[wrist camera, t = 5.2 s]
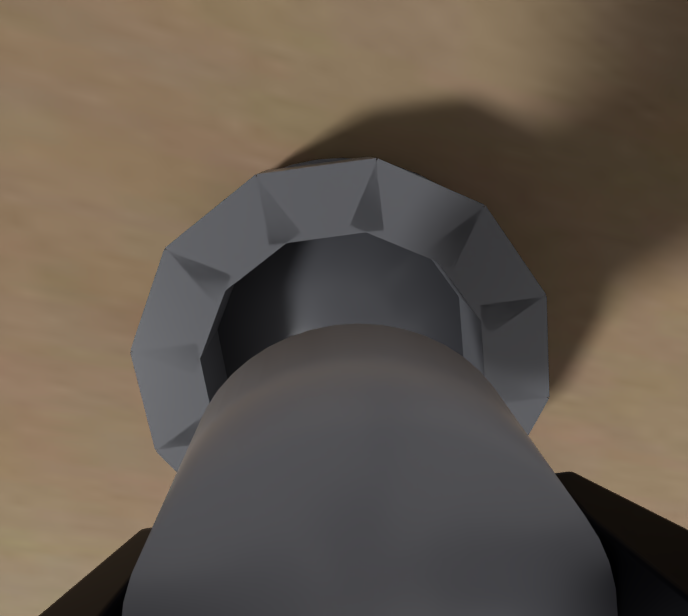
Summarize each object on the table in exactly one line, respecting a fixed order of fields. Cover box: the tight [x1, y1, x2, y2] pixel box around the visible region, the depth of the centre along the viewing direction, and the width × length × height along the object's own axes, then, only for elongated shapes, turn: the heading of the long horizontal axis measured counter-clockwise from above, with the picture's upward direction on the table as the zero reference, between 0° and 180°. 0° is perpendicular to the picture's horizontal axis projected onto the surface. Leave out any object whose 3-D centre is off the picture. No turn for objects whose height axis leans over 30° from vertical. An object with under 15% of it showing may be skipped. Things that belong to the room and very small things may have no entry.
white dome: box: [122, 324, 618, 616], centre depth 8 cm, size 6×6×4 cm
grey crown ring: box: [130, 157, 549, 472], centre depth 16 cm, size 11×11×3 cm
